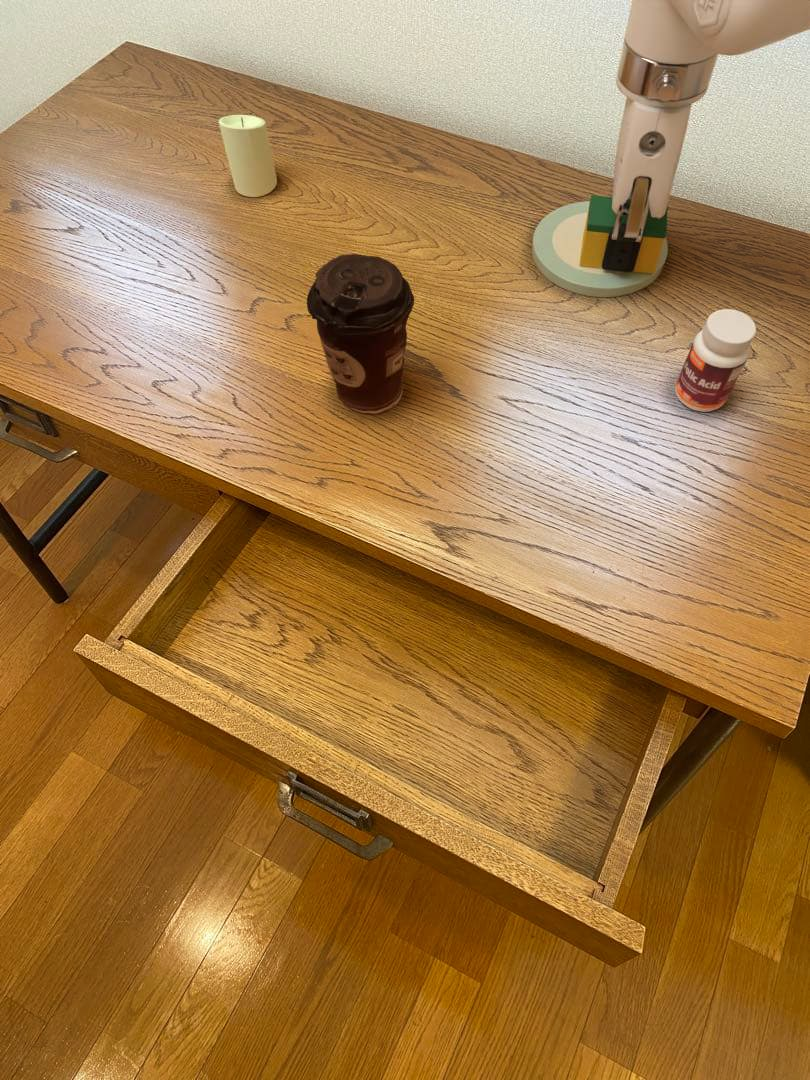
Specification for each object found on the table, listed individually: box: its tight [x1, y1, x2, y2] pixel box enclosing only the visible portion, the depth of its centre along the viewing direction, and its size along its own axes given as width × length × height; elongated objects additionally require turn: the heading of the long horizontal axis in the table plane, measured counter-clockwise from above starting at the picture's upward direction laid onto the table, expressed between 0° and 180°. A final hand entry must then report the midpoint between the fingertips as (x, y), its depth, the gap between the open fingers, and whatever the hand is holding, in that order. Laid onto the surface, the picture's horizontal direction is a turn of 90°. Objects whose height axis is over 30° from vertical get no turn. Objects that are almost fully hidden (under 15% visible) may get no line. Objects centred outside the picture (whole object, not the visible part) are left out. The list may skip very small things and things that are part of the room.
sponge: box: [579, 194, 669, 274], centre depth 75 cm, size 8×5×5 cm, turn 79°
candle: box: [217, 114, 278, 198], centre depth 84 cm, size 5×5×8 cm
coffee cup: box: [306, 253, 415, 415], centre depth 65 cm, size 9×8×13 cm
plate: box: [531, 200, 669, 298], centre depth 79 cm, size 14×14×1 cm
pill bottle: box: [674, 308, 757, 413], centre depth 65 cm, size 5×5×8 cm
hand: (619, 250), depth 77 cm, fingers closed on sponge, 4 cm apart
